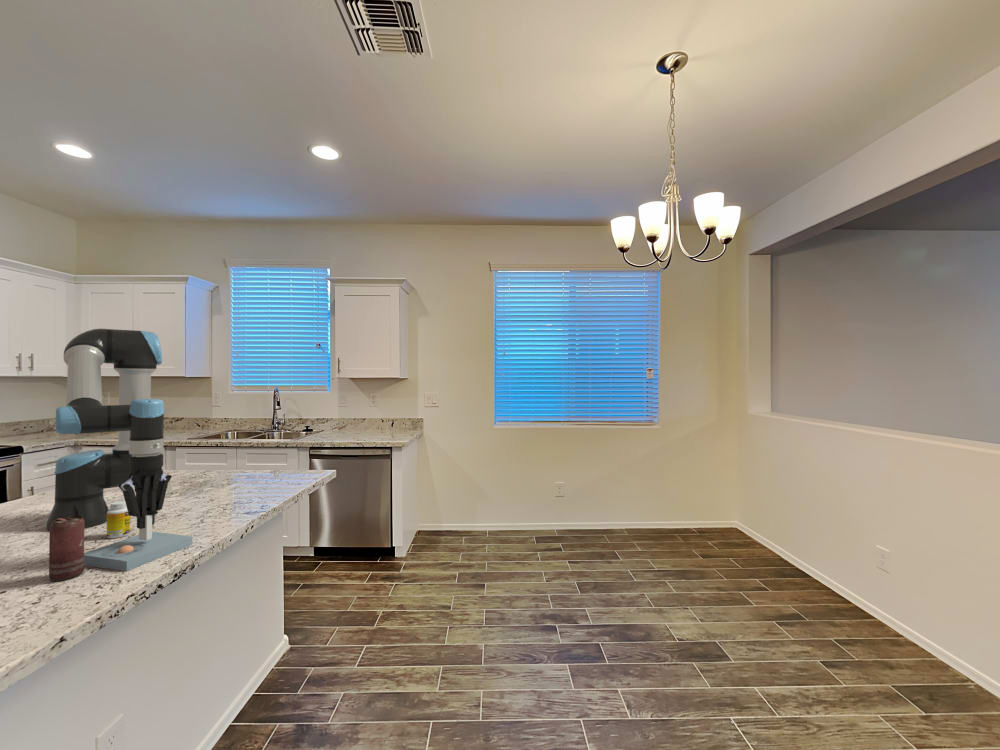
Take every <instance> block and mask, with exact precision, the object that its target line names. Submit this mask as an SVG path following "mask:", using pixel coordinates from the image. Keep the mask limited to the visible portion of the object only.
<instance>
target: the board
mask: <svg viewBox="0 0 1000 750" xmlns="http://www.w3.org/2000/svg"><path fill="white" fill-rule="evenodd" d="M126 545H130V546H132V547H133V548H134V550H132V551H130V552H126V553H122V554H117V552H118V550H119V549H120V548H121V547H123V546H126ZM190 546H193V536H192V535H184V534H176V533H169V532H167V533H166V532H159V531H152V538H151V539H149V540H142V539H139V534H138V535H134V536H131V537H128V538H125V539H122V540H119V541H116V542H112V543H109V544H107V545H105V546H101V547H99V548H95V549H92V550H90V551H89V550H88V551H86V552H84V566H90V567H97V568H103V569H108V570H115V571H116V570H118V571H124V572H128V571H130V570H133V569H135V568H138V567H141V566H144V565H145V564H147V563H150V562H151V563H152V562H154V561H155V560H158V559H161V558H163V557H165V556H168V555H171V554H173V553H176V552H179V551H180V550H183V549H185V548H188V547H190Z"/></svg>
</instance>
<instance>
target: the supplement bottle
mask: <svg viewBox="0 0 1000 750" xmlns="http://www.w3.org/2000/svg"><path fill="white" fill-rule="evenodd" d="M131 517H132V516H129V514H128V510H127V506H126V502H125V500H119V501H118V500H117V501H113V502H111V503H110V508H109V510H108V511H107V521H106V537H107V539H119V538H124V537H126V536H129V535H130V534H131Z"/></svg>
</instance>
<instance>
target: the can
mask: <svg viewBox="0 0 1000 750" xmlns="http://www.w3.org/2000/svg"><path fill="white" fill-rule="evenodd" d="M84 522H85V520H84V519H83V517H82V516H72V517H65V518H58V519H56V520H54V521H52V523H51V525H50V530H49V539H48V540H49V544H48V545H49V546H48V548H49V549H48V550H49V551H48V552H49V553H48V555H49V557H48V579H49V580H50V581H51V582H65V581H69V580H72V579H75V578H78V577H80V576H81V575H82V574H84V571H85V565H84V553H85V528H84Z"/></svg>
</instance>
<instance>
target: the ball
mask: <svg viewBox="0 0 1000 750" xmlns="http://www.w3.org/2000/svg"><path fill="white" fill-rule="evenodd" d="M132 550H134V548H133V547H132V546H130V545H126V546H123V547H121V548H120V549H119V550H118V552H117V554H122V553H126V552H130V551H132Z"/></svg>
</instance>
